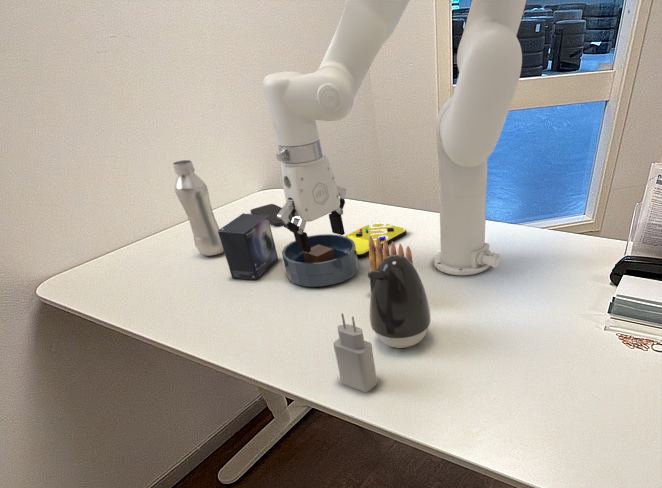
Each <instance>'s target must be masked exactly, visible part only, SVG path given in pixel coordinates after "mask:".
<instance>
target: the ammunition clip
mask: <svg viewBox="0 0 662 488" xmlns="http://www.w3.org/2000/svg"><path fill="white" fill-rule="evenodd" d="M391 255H401V256H404V257H406V258H407V259H408V260H409V261H410V262H411V263H412V265H413V266H414V261H413V253H412V250H411V247H410V246H409V245H407V247H406V249H405V252H404V248H403V245H402V244H401V243H399V244H398V247H397V248H396V245H395V242H392V243H391V244H390V247H389V245H388V244H387V241H386V240H384V243H383V248H382V246H381V242H380V240H379V238H377V240H376V250H375V244H374V241H373V238H372V236H370V237H369V256H368V262H369V270H370V271H377V269H378V267H379V265H380V263H381V262H382V261H383V260H384V259H385V258H386V257H388V256H391ZM373 282H374V279H370V278H369V285H370V292H371V291H372V286H373Z"/></svg>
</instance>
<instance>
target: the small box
mask: <svg viewBox="0 0 662 488" xmlns="http://www.w3.org/2000/svg"><path fill="white" fill-rule="evenodd" d="M218 234H219V237H220V240H221V243H222V247H223V250H224V252H223V253H224V256H225V259H226V263H227V265H228V268H229V272H230V276H231V279H241V280H251V281H257V280H259V279H260V278H261V277H262V276H263V275H264V274H265V273H267V272H268V271H269V270H270V269H271V268H272V267H273V266H274V265H275V264H277V262H279V256H278V252H277V248H276V244H275V243H276V242H275V240H274V236H273V232H272V227H271V223H269V219H268V215H255V214H252V213H242V214H240V215H239V216H237V217H236V218H234V219H233V220H231V221H230V222H228V223H227V224H225V225H224V226H223V227H221V228H219V230H218Z"/></svg>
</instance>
